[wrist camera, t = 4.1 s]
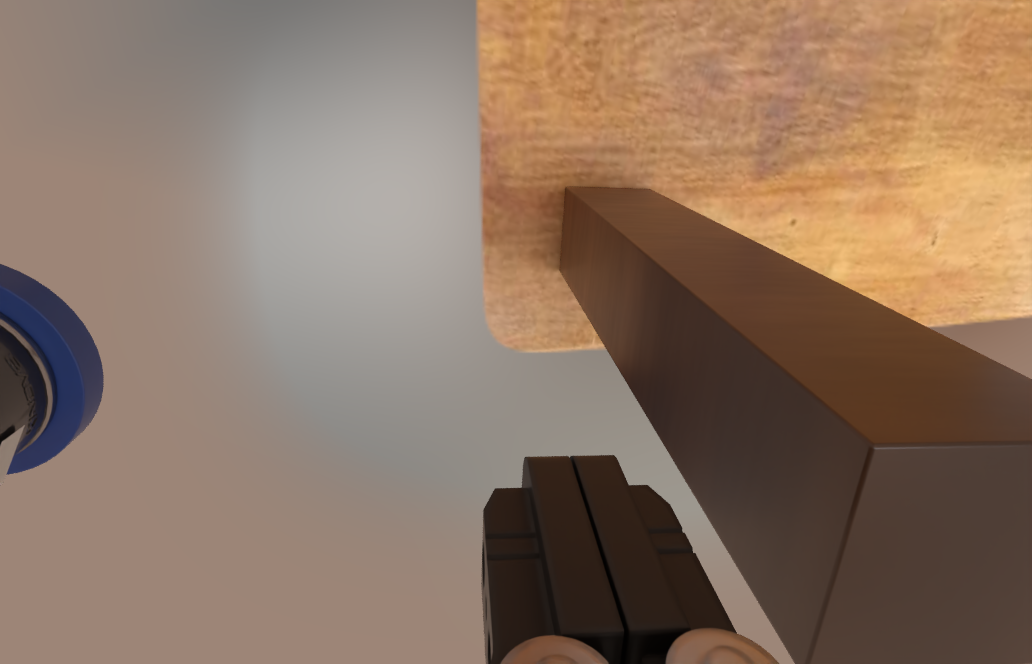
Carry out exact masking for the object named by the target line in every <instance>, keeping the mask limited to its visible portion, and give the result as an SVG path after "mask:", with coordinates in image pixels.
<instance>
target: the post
mask: <svg viewBox="0 0 1032 664" xmlns="http://www.w3.org/2000/svg"><path fill="white" fill-rule="evenodd" d="M560 272H561V274H562V276H563V277H564V279H565V281H566V282H567V284H568V286H569V287H570V289H571V291H572V292H573V294H574V296H575V297H576V299H577V301H578V302H579V304H580V306H581V307H582V309H583V311H584V312H585V314H586V316H587V317H588V319H589V321H590V322H591V324H592V326H593V327H594V329H595V331H596V332H597V334H598V336H599V337H600V339H601V341H602V342H603V344H604V346H605V347H606V349H607V351H608V352H609V354H610V355H611V357H612V359H613V361H614V362H615V364H616V366H617V367H618V369H619V371H620V372H621V374H622V376H623V377H624V379H625V381H626V382H627V384H628V386H629V387H630V389H631V391H632V392H633V394H634V395H635V397H636V399H637V401H638V402H639V404H640V406H641V407H642V409H643V411H644V412H645V414H646V416H647V417H648V419H649V421H650V422H651V424H652V426H653V427H654V429H655V431H656V432H657V434H658V436H659V437H660V439H661V441H662V442H663V444H664V446H665V447H666V449H667V451H668V452H669V454H670V456H671V457H672V459H673V461H674V462H675V464H676V466H677V468H678V469H679V471H680V473H681V474H682V476H683V477H684V479H685V481H686V483H687V484H688V486H689V487H690V489H691V491H692V493H693V494H694V496H695V497H696V499H697V501H698V503H699V504H700V506H701V507H702V509H703V511H704V513H705V514H706V516H707V518H708V519H709V521H710V522H711V524H712V526H713V528H714V529H715V531H716V533H717V534H718V536H719V538H720V539H721V541H722V543H723V544H724V546H725V548H726V549H727V551H728V553H729V554H730V555H731V557H732V559H733V561H734V563H735V564H736V566H737V567H738V569H739V571H740V572H741V574H742V576H743V577H744V579H745V581H746V583H747V584H748V586H749V587H750V589H751V591H752V593H753V594H754V596H755V597H756V599H757V601H758V603H759V604H760V606H761V608H762V609H763V611H764V613H765V614H766V616H767V618H768V619H769V621H770V623H771V624H772V626H773V628H774V629H775V631H776V633H777V634H778V636H779V638H780V639H781V641H782V643H783V644H784V646H785V648H786V649H787V651H788V653H789V654H790V656H791V658H792V659H793V661H794V663H795V664H1032V379H1030V378H1028V377H1026V376H1024V375H1022V374H1020V373H1018V372H1016V371H1014V370H1012V369H1010V368H1008V367H1006V366H1004V365H1002V364H1000V363H998V362H996V361H994V360H992V359H990V358H988V357H986V356H984V355H982V354H980V353H978V352H976V351H974V350H972V349H970V348H968V347H966V346H964V345H962V344H960V343H958V342H956V341H954V340H952V339H950V338H948V337H946V336H944V335H942V334H940V333H938V332H936V331H934V330H932V329H930V328H928V327H926V326H924V325H922V324H920V323H918V322H916V321H914V320H912V319H910V318H908V317H906V316H904V315H902V314H900V313H898V312H896V311H894V310H892V309H890V308H888V307H886V306H884V305H882V304H880V303H878V302H876V301H874V300H872V299H870V298H868V297H866V296H863V295H861V294H859V293H857V292H855V291H853V290H851V289H849V288H847V287H845V286H843V285H841V284H839V283H837V282H835V281H833V280H831V279H829V278H827V277H825V276H823V275H821V274H819V273H817V272H815V271H813V270H811V269H809V268H807V267H805V266H803V265H801V264H799V263H797V262H795V261H793V260H791V259H789V258H787V257H785V256H783V255H781V254H779V253H777V252H775V251H773V250H771V249H769V248H767V247H765V246H763V245H761V244H759V243H757V242H755V241H753V240H751V239H749V238H747V237H745V236H743V235H741V234H739V233H737V232H735V231H733V230H731V229H729V228H727V227H725V226H723V225H721V224H719V223H717V222H715V221H713V220H711V219H709V218H707V217H705V216H703V215H701V214H699V213H697V212H695V211H693V210H691V209H689V208H687V207H685V206H683V205H681V204H679V203H677V202H675V201H673V200H671V199H669V198H667V197H665V196H663V195H661V194H659V193H657V192H655V191H653V190H651V189H632V188H599V187H566V188H565V201H564V215H563V229H562V243H561V257H560Z"/></svg>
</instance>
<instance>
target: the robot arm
mask: <svg viewBox="0 0 1032 664" xmlns="http://www.w3.org/2000/svg"><path fill="white" fill-rule="evenodd" d="M56 406H57V385H56V380H55V376H54V373H53V370H52V368H51V366H50V363H49V361H48V359H47V358H46V356H45V354H44V353H43V351H42V350H41V348H40V347H39V346H38V344H37V343H36V342H35V341H34V339H33V338H32V337H31V336H30V335H29V334H28V333H27V332H26V331H25V330H24V329H22V328H21V327H20V326H19V325H18V324H17V323H15V322H14V321H13V320H11V319H10V318H8V317H7V316H5V315H4V314H2V313H1V312H0V485H1V484H2V483H3V482H4V479H5V477H6V474H7V472H8V469H9V466H10V463H11V461H12V458H13V456H14V455H16V454H17V453H19V452H21V451H23V450H24V449H26V448H27V447H28V446H30V445H31V444H32V443H33V442H34V441H36V440H37V439H38V438H39V437H40V436H41V435H42V434H43V433H44V432H45V430H46V429H47V428H48V426H49V425H50V423H51V421H52V419H53V417H54V414H55V410H56ZM482 551H483V552H482V602H483V619H484V634H485V656H486V664H779V663H778V662H777V661H776V660H775V659H774V657H773V656H772V655H771V654H770V653H768V652H767V651H766V650H765V649H763V648H762V647H761V646H759V645H758V644H756V643H755V642H753V641H752V640H750V639H748V638H746V637H744V636H742V635H739V634H737V632H736V631H735V629H734V627H733V625H732V623H731V621H730V619H729V617H728V615H727V613H726V611H725V610H724V608H723V606H722V604H721V602H720V600H719V598H718V596H717V594H716V592H715V591H714V588H713V587H712V584H711V583H710V581H709V579H708V577H707V575H706V573H705V571H704V569H703V567H702V566H701V563H700V561H699V560H698V558H697V556H696V554H695V553H693V551H692V546H691V544H690V542H689V540H688V539H687V537H686V534H685V533H683V532H682V527H681V525H680V523H679V521H678V519H677V517H676V515H675V513H674V511H673V509H672V508H671V506H670V504H669V503H668V502H666V501H665V500H664V499H663V498H662V497H661V496H660V495H658V494H657V493H656V492H655V491H654V490H652V489H651V488H650V487H649V486H648V485H628V483H627V481H626V478H625V476H624V474H623V471H622V469H621V467H620V465H619V462H618V460H617V458H616V457H615V456H614V455H605V456H604V455H603V456H602V455H601V456H571V457H570V458H569V457H568V456H554V457H553V456H552V457H525V458H524V464H523V478H522V488H503V489H502V488H497V489H495V490H494V491H493V493H492V495H491V497H490V499H489V501H488V502H487V504H486V506H485V508H484V513H483V549H482Z"/></svg>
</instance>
